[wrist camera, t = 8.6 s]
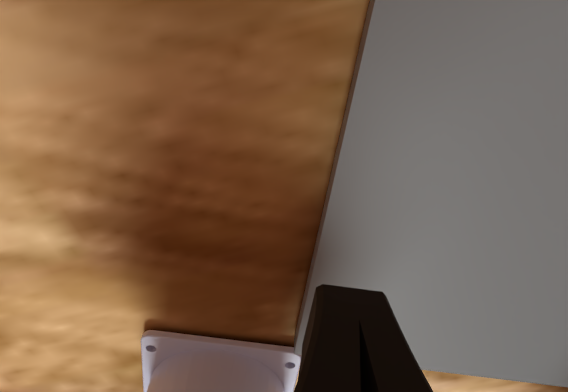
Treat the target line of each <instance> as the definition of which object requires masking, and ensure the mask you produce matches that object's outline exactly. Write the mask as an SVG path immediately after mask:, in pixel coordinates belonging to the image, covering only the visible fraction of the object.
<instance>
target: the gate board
mask: <svg viewBox="0 0 568 392" xmlns="http://www.w3.org/2000/svg"><path fill="white" fill-rule="evenodd" d="M322 284H326V285H334V286H342V287H350V288H358V289H366V290H373V291H381V292H383V293H384V294H385V295H386V297H387V299H388V301H389V304H390V306H391V308H392V311H393V313H394V315H395V317H396V320H397V322H398V324H399V326H400V328H401V330H402V332H403V335H404V337H405V339H406V341H407V343H408V345H409V347H410V349H411V351H412V353H413V355H414V357H415V359H416V361H417V363H418V365H419V367H420V369H422V370H430V371H438V372H446V373H455V374H463V375H471V376H479V377H487V378H496V379H504V380H512V381H520V382H528V383H537V384H545V385H553V386H561V387H568V0H370V2H369V7H368V11H367V16H366V20H365V25H364V29H363V34H362V38H361V42H360V47H359V51H358V56H357V60H356V65H355V69H354V74H353V78H352V83H351V87H350V92H349V96H348V101H347V105H346V109H345V114H344V118H343V123H342V127H341V132H340V136H339V141H338V145H337V150H336V154H335V159H334V163H333V167H332V172H331V176H330V181H329V185H328V190H327V194H326V199H325V203H324V208H323V212H322V217H321V221H320V226H319V230H318V234H317V239H316V243H315V248H314V252H313V257H312V261H311V266H310V270H309V275H308V279H307V284H306V288H305V292H304V297H303V301H302V306H301V310H300V315H299V319H298V324H297V328H296V333H295V338H294V354H299V355H301V354H302V343H303V339H304V335H305V331H306V327H307V323H308V319H309V314H310V310H311V306H312V302H313V298H314V294H315V290H316V287H318V286H320V285H322Z"/></svg>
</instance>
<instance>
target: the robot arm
mask: <svg viewBox="0 0 568 392" xmlns="http://www.w3.org/2000/svg"><path fill="white" fill-rule="evenodd" d="M141 353H142V371H143V389H144V392H293V391H294V392H433V391H432V389H431V387H430V385H429V383H428V381H427V380H426V378H425V376H424V374H423V372H422V370H421V369H420V367H419V365H418V363H417V361H416V359H415V357H414V355H413V353H412V351H411V349H410V347H409V345H408V343H407V341H406V339H405V337H404V335H403V332H402V330H401V328H400V326H399V324H398V322H397V320H396V317H395V315H394V313H393V311H392V308H391V306H390V304H389V301H388V299H387V297H386V295H385V294H384V293H383V292H381V291H373V290H366V289H358V288H350V287H342V286H334V285H326V284H322V285H320V286H318V287H316V290H315V294H314V298H313V302H312V306H311V310H310V314H309V319H308V323H307V327H306V331H305V335H304V339H303V343H302V354H301V355H299V354H294V347H287V346H279V345H271V344H262V343H254V342H246V341H238V340H230V339H222V338H213V337H205V336H197V335H189V334H181V333H173V332H164V331H156V330H148V331H145V332H144V333H143V335H142V338H141ZM299 367H300V370H299ZM298 371H299V377H298V382H297V385H296V387H295V383H296V379H297V375H298ZM294 387H295V390H294Z"/></svg>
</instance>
